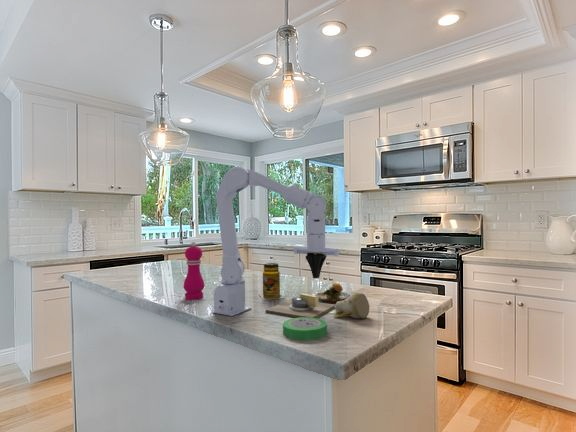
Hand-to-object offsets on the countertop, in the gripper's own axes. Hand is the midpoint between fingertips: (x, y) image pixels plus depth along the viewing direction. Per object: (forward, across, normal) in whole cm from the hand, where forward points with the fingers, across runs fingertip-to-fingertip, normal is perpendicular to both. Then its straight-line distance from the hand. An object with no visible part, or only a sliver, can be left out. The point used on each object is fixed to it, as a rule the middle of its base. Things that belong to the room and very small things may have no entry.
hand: (316, 277), depth 114 cm
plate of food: (+10, 0, +14) cm, 18 cm away
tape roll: (+10, +6, -21) cm, 24 cm away
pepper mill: (+10, -45, -6) cm, 46 cm away
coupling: (+8, -2, -3) cm, 9 cm away
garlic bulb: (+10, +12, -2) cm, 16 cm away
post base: (+10, -4, -3) cm, 11 cm away
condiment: (+10, -21, +8) cm, 25 cm away
